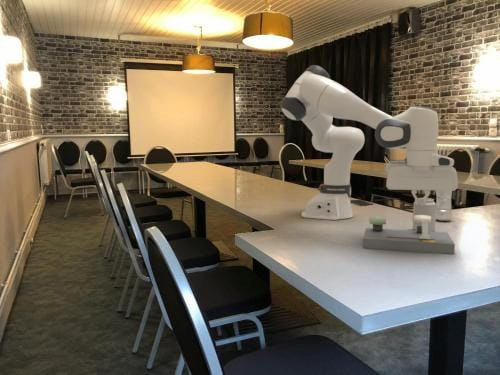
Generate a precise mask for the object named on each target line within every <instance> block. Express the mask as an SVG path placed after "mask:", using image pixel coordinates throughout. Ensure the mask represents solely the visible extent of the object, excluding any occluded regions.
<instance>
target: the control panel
mask: <svg viewBox="0 0 500 375" xmlns="http://www.w3.org/2000/svg"><path fill="white" fill-rule="evenodd" d="M383 226H384V225H374V224H372V227H365V230H364V234H363V240H362V241H363V242H362V243H363V244H362V245H363V246H362V247H363V249H371V250H372V249H373V250H388V251H403V252H418V253H432V254H433V253H434V254H450V255H455V246H456V244H455V243H454V240H453V239H452V237H451V236H450V234H449V233H448V231H435V230H434V231H428V234H430V236H431V239H419V234H422V226H417V231H415V230H414V229H412V230H410V229H393V228H391V229H390V228H383Z"/></svg>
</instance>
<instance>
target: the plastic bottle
mask: <svg viewBox="0 0 500 375" xmlns="http://www.w3.org/2000/svg"><path fill="white" fill-rule="evenodd" d="M435 194H436V196H435V197H436V202H435V203H436V212H435V221H437V220H438V221H441V222H449V221H451V220H452V219H453V211H452V196H453V191H444V190H435Z"/></svg>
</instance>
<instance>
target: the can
mask: <svg viewBox="0 0 500 375" xmlns="http://www.w3.org/2000/svg"><path fill="white" fill-rule="evenodd" d="M434 200H435V199H433V198H429V197H427V199H426V205H416V204H415V201H414V202H413V209H412V210H413V212H412V230H415V231H417V226H422V223H416V222H414V216H415V215H427V216H431V223H428V231H434V232H435V229H436V218H435V212H436V202H435V201H434Z"/></svg>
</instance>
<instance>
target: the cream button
mask: <svg viewBox="0 0 500 375" xmlns="http://www.w3.org/2000/svg"><path fill="white" fill-rule="evenodd" d="M422 220H427V221H428V223H431V216H427V215H415V216H414V222H416V223H422Z"/></svg>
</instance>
